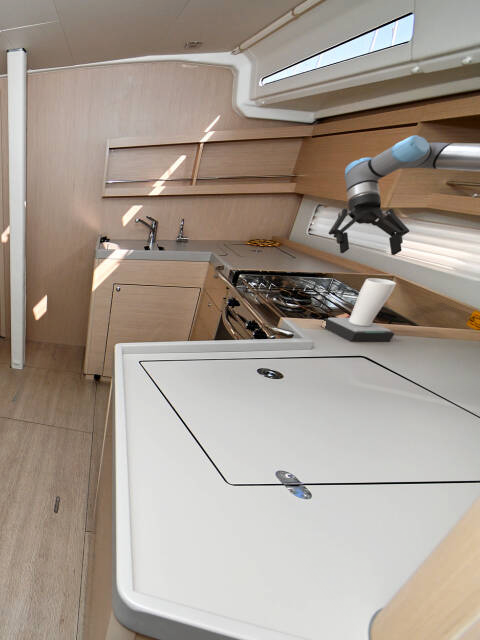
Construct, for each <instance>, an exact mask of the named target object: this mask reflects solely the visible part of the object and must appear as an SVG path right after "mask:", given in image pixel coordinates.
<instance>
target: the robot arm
mask: <svg viewBox="0 0 480 640" xmlns="http://www.w3.org/2000/svg"><path fill="white" fill-rule="evenodd" d="M400 169H401V170H402V169H404V170H405V169H428V170H429V169H432V170H448V171H449V170H451V171H464V172H465V171H466V172H467V171H468V172H480V143H477V142H475V143H473V142H472V143H470V142H469V143H465V142H463V143H462V142H453V143H452V142H451V143H450V142H428V141H427V140H426V139H425V138H424V137H423V136H420V135H411V136H408V137H407V138H405V139H403V140H401V141H399V142H397V143H395V144H394V145H392V146H391V147H389V148H387V149H386V150H384V151H382V152H381V153H379V154H378V155H375V156H374V157H361V158H359V159H356V160H354V161H351V162H350V163H349V164H348V165H347V166H346V167H345V169H344V182H345V185H346V186H345V187H346V196H347V207H348V209H347V208H343V209H342V210H341V211H340V212H339V213H338V214H337V219H336V220H335V222H334V223H333V225H332V227H331V228H330V230H329V231H328V235H330V236H332V235H333V238H335V239H336V244H338V245H339V252H340V254H344V253H346V252H348V250H350V245H349V235H348V232H345V231H347V230H348V229H350V228H351V226H353V225H354V224H356V223H357V224H359V225H360V224H366V225H370V224H371V225H372V226H376V227H377V228H379V229H380V230H382V231H383V232H384V233H386V234H387V235H388V236H390V237H388V240H389V248H390V254H391V256H396V255H397V254H399V253H401V252H402V251H403V250H402V244H403V242H404V241H403V236H405V235H406V234H409V233H410V229H409V228H408V226H406V225H405V223H403V221H402V220H401V219H400V218H399V217H398V216H397V214H396V213H395V211H394V209H393V208H390V209H388V210H382V208H381V206H382V200H381V196H380V195H381V191H380V185H379V180H380V179H382V178H384V177H386V176H388V175H391V174H392V173H394V172H396V171H398V170H400ZM347 217H350V219H351V220H349V222H347V224H345V225H344V226H343V227H342V228H341V229H340V227H341V225H342V224H343V222H344V220H345V219H346V218H347Z"/></svg>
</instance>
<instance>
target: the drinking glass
mask: <svg viewBox="0 0 480 640" xmlns="http://www.w3.org/2000/svg"><path fill="white" fill-rule="evenodd" d="M396 285H397V283H396V282H395V281H393V280H390V279H384V278H377V277H376V278H375V277H369V278H366V279H365V280H364V282H363V284H362V286H361V288H360V290H359V292H358V295H357V298H356V301H355V304H354V306H353V308H352V311H351V314H350V316H349V317H348V318H349V320H348V321H349V322H350V323H352V324H354V325H358V326H369V325H371V323H373V321H374V320H375V318H376V317H377V315H378V314H379V312H380V311H381V309H382V308H383V307H384V305H385V304H386V302H387V301H388V300H389V298H390V296H391V295H392V293H393V291H394V290H395V287H396Z"/></svg>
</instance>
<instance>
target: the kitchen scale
mask: <svg viewBox="0 0 480 640" xmlns="http://www.w3.org/2000/svg"><path fill="white" fill-rule="evenodd" d="M349 318H350V317H327V318H323V320H324V321H326V326H325V330H327V331H328V332H330V333H332V334H334V335H336V336H339V337H340V338H342V339H344V340H346V341H348V342H350V343H364V342H365V343H390V342H391V340H392V338H393V337H394V336H395V332H393V331H392V330H391V329H389V328H386V327H385V326H382V325H379V324H377V323H375V322H372V323H371V325H369V326H358V325H354V324H352V323H350V322H349V321H348V320H349Z"/></svg>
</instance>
